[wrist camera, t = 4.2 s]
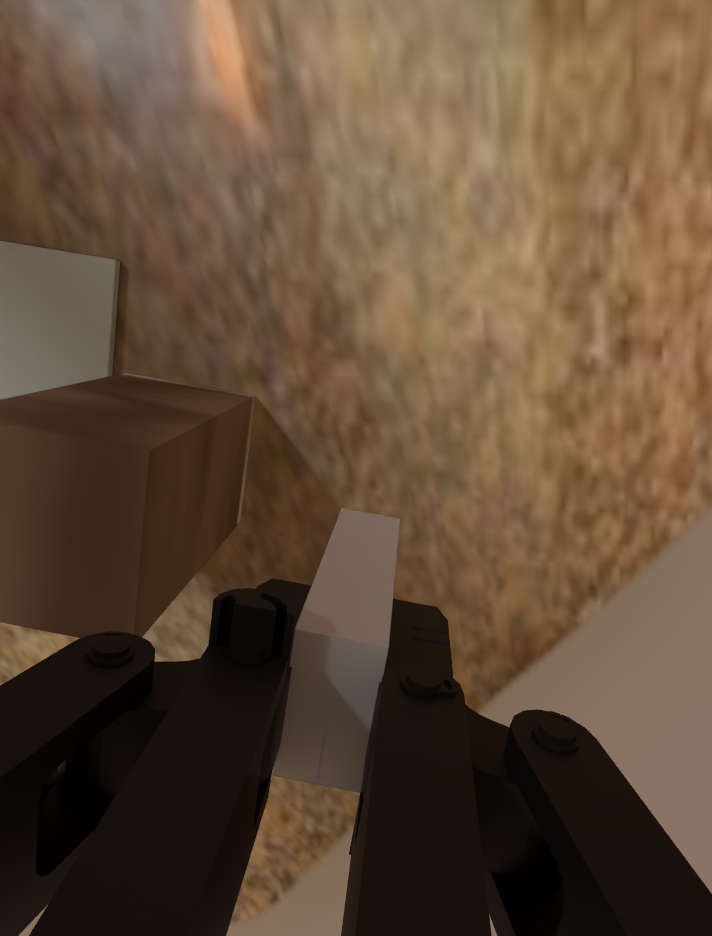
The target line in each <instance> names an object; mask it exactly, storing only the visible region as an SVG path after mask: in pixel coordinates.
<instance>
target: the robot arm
mask: <svg viewBox="0 0 712 936" xmlns="http://www.w3.org/2000/svg"><path fill="white" fill-rule="evenodd" d="M399 524H400V518H394V517H389V516H383V515H378V514H372V513H366V512H361V511H355V510H350V509H344V508H342V509H341V511H340V514H339V516H338V519H337V522H336V524H335V527H334V529H333V532H332V534H331V537H330V540H329V542H328V545H327V547H326V550H325V553H324V555H323V558H322V560H321V563H320V566H319V568H318V571H317V573H316V576H315V578H314V581H313V584H312V586H310V585H305V584H299V583H294V582H289V581H283V580H278V579H271V580H269V581H267V582H265V583H263V584H261V585H259V586H257V588H256V589H251V588H245V589H233V590H230V591H227V592H224V593H221V594H220V595H218V596H217V597H216V598H215V599H214V601H213V610H212V619H211V628H210V637H209V645H208V647H207V649H206V650H205V652H204V654H203V655H202V657H201V658H200V659H196V660H191V661H178V662H154V660H155V648H154V647H153V646H152V644H151V643H150V642H149V641H148V640H146V639H144V638H142V637H140V636H138V635H134V634H129V633H126V632H120V631H116V632H114V631H106V632H102V633H97V634H91V635H88V636H85V637H83V638H81V639H78V640H76V641H74V642H72V643H71V644H69V645H67V646H66V647H64V648H62V649H61V650H59V651H57V652H56V653H54V654H52V655H51V656H49V657H47V658H46V659H44V660H42V661H41V662H39V663H37V664H36V665H34V666H32V667H31V668H29V669H27V670H26V671H24V672H22V673H21V674H19V675H17V676H16V677H14V678H12V679H11V680H9V681H7V682H6V683H4V684H2V685H1V686H0V936H18V935H19V934H20V933H21V932H22V931H23V930H24V929H25V928H26V927H27V926H28V925H29V924H30V923H31V922H32V921H33V920H34V918H35V917H36V916H37V915H38V914H39V913H40V912H41V911H42V910H43V909H44V908H45V907H46V906H47V905H48V906H47V907H46V909H45V911H44V912H43V914H42V916H41V917H40V919H39V920H38V922H37V924H36V925H35V927H34V929H33V930H32V932H31V933H30V935H29V936H226V934H227V931H228V927H229V924H230V921H231V917H232V914H233V911H234V908H235V904H236V901H237V898H238V894H239V891H240V888H241V884H242V881H243V878H244V875H245V871H246V868H247V865H248V861H249V858H250V855H251V852H252V848H253V845H254V842H255V838H256V835H257V832H258V829H259V825H260V822H261V819H262V815H263V812H264V809H265V806H266V802H267V799H268V794H269V787H270V780H271V774H272V769H273V766H274V763H275V767H274V774H273V775H274V776H279V777H284V778H289V779H294V780H299V781H304V782H309V783H314V784H319V785H324V786H329V787H334V788H339V789H344V790H349V791H354V792H359V793H360V798H359V804H358V809H357V814H356V820H355V825H354V830H353V836H352V841H351V847H350V852H349V854H350V855H351V862H350V870H349V877H348V885H347V894H346V902H345V910H344V917H343V925H342V933H341V936H491V928H490V919H489V914H490V917H491V920H492V922H493V925H494V928H495V930H496V933H497V936H712V894H711V893H710V891H709V890H708V888H707V887H706V886H705V884H704V883H703V882H702V880H701V879H700V878H699V876H698V875H697V874H696V872H695V871H694V869H693V868H692V867H691V865H690V864H689V863H688V861H687V860H686V859H685V857H684V856H683V855H682V853H681V852H680V851H679V849H678V848H677V847H676V845H675V844H674V843H673V841H672V840H671V839H670V837H669V836H668V835H667V833H666V832H665V831H664V829H663V828H662V827H661V825H660V824H659V823H658V821H657V820H656V818H655V817H654V816H653V814H652V813H651V812H650V810H649V809H648V808H647V806H646V805H645V804H644V802H643V801H642V800H641V798H640V797H639V796H638V794H637V793H636V792H635V790H634V789H633V788H632V786H631V785H630V783H629V782H628V781H627V779H626V778H625V777H624V775H623V774H622V773H621V771H620V770H619V769H618V767H617V766H616V765H615V763H614V762H613V761H612V759H611V758H610V757H609V755H608V754H607V753H606V752H605V750H604V749H603V747H602V746H601V745H600V743H599V742H598V741H597V739H596V738H595V737H594V736H593V735H592V734H591V733H590V732H589V731H588V730H587V729H586V728H585V727H583V726H581V725H580V724H578V723H576V722H575V721H573V720H572V719H570V718H569V717H566V716H564V715H560V714H559V713H555V712H551V711H550V712H548V711H543V710H527V711H523V712H521V713H518V714H517V715H515V716H514V717H513V720H512V722H511V724H510V727H507V726H505V725H502V724H499V723H497V722H494V721H492V720H490V719H488V718H486V717H484V716H481V715H479V714H478V713H476V712H475V711H473V710H472V709H470V708H469V707H468V706H467V705H466V704H465V699H464V693H463V691H462V688H461V686H460V684H459V683H458V682H457V681H456V680H454V679H453V671H452V660H451V649H450V639H449V628H448V620H447V619H446V618H445V616H444V615H443V614H442V613H441V612H440V610H439V609H438V608H437V607H433V606H428V605H422V604H417V603H412V602H406V601H401V600H396V599H393V592H394V581H395V569H396V558H397V547H398V535H399Z"/></svg>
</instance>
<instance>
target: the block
mask: <svg viewBox="0 0 712 936" xmlns="http://www.w3.org/2000/svg"><path fill="white" fill-rule="evenodd" d="M255 398H256V395H251V394H245V393H239V392H233V391H228V390H222V389H216V388H210V387H205V386H199V385H193V384H188V383H182V382H176V381H170V380H165V379H159V378H153V377H147V376H142V375H136V374H130V373H123V374H118V375H113V376H109V377H104V378H99V379H95V380H90V381H85V382H81V383H76V384H71V385H67V386H62V387H57V388H53V389H48V390H43V391H38V392H34V393H29V394H24V395H20V396H15V397H10V398H6V399H1V400H0V622H2V623H7V624H12V625H17V626H23V627H28V628H33V629H38V630H43V631H48V632H53V633H58V634H63V635H68V636H73V637H78V638H83V637H85V636H88V635H91V634H97V633H102V632H106V631H114V632H116V631H120V632H126V633H129V634H134V635H138V636H140V637H143V635H144V634H145V633H146V632H147V631H148V630H149V628H150V627H151V626H152V625H153V624H154V623H155V621H156V620H157V619H158V618H159V617H160V615H161V614H162V613H163V612H164V611H165V610H166V608H167V607H168V606H169V605H170V604H171V602H172V601H173V600H174V599H175V598H176V597H177V595H178V594H179V593H180V592H181V591H182V590H183V588H184V587H185V586H186V585H187V584H188V582H189V581H190V580H191V579H192V578H193V577H194V575H195V574H196V573H197V572H198V571H199V569H200V568H201V567H202V566H203V565H204V564H205V562H206V561H207V560H208V559H209V558H210V557H211V555H212V554H213V553H214V552H215V551H216V549H217V548H218V547H219V546H220V545H221V544H222V542H223V541H224V540H225V539H226V538H227V536H228V535H229V534H230V533H231V532H232V531H233V529H234V528H235V527H236V526H237V525H238V524H239V522H240V520H241V512H242V503H243V495H244V487H245V479H246V471H247V463H248V455H249V447H250V439H251V430H252V422H253V414H254V406H255Z"/></svg>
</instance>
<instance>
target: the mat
mask: <svg viewBox="0 0 712 936" xmlns="http://www.w3.org/2000/svg"><path fill="white" fill-rule="evenodd" d="M119 274H120V260H114V259H108V258H102V257H95V256H89V255H83V254H77V253H71V252H65V251H59V250H53V249H47V248H41V247H35V246H29V245H23V244H17V243H11V242H5V241H0V400H1V399H6V398H10V397H15V396H20V395H24V394H29V393H34V392H38V391H43V390H48V389H53V388H57V387H62V386H67V385H71V384H76V383H81V382H85V381H90V380H95V379H99V378H104V377H109V376H112V375H113V360H114V346H115V331H116V317H117V303H118V288H119Z"/></svg>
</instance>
